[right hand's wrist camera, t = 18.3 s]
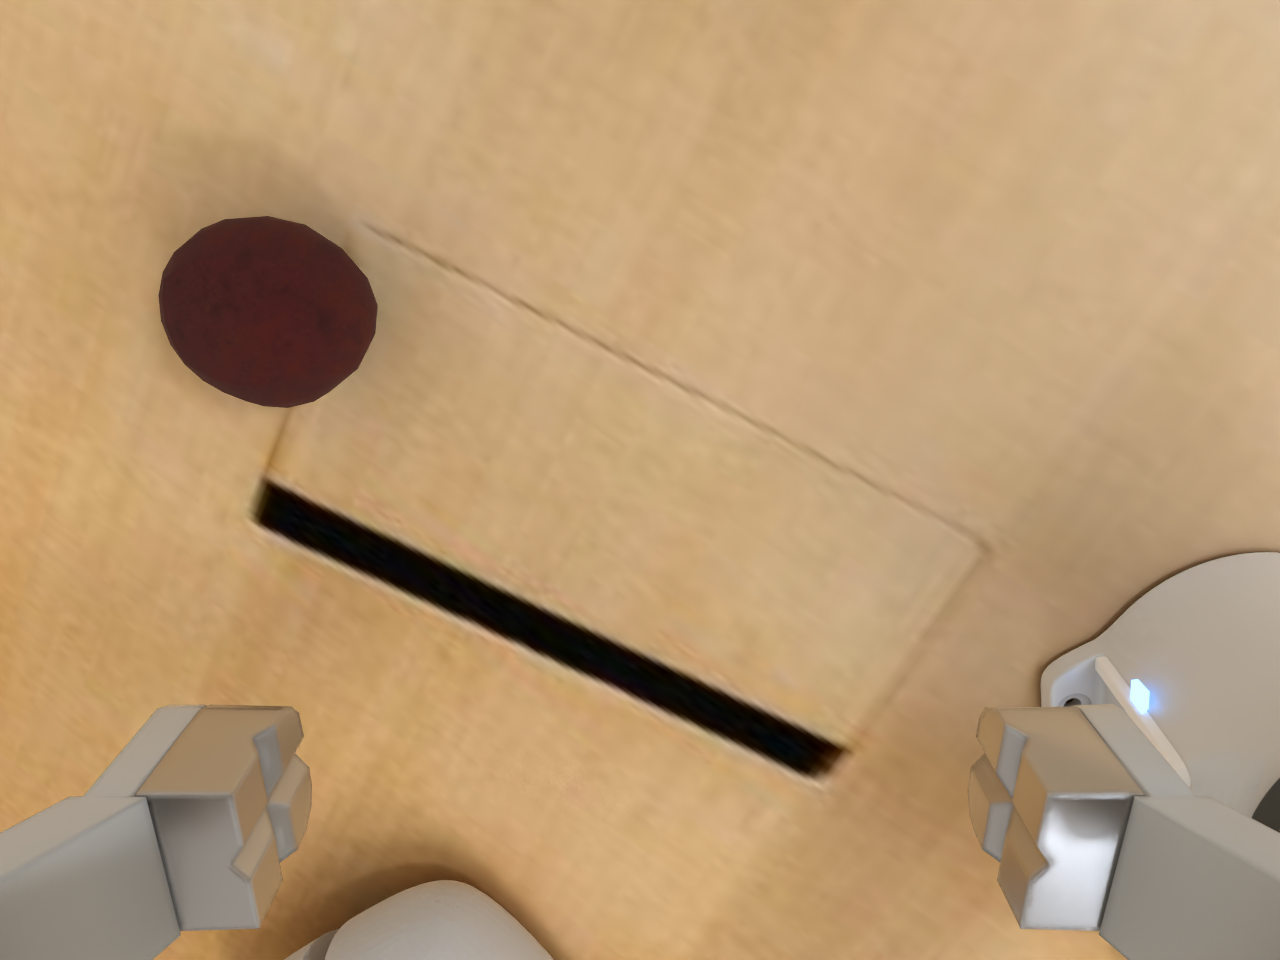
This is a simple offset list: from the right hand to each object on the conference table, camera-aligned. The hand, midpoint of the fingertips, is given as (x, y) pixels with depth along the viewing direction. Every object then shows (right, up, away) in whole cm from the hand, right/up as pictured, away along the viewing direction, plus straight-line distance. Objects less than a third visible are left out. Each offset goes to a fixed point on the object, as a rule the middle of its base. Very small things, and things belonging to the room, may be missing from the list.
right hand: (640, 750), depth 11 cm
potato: (-14, +11, +27) cm, 33 cm away
